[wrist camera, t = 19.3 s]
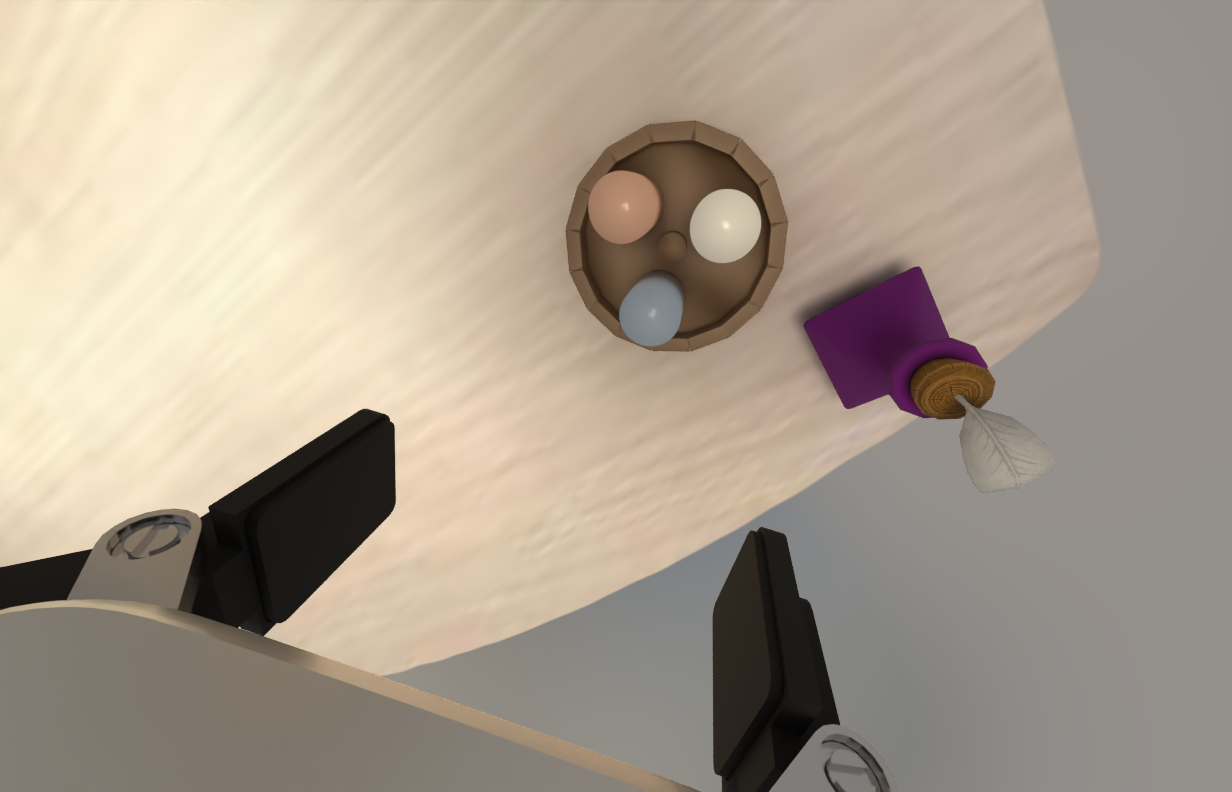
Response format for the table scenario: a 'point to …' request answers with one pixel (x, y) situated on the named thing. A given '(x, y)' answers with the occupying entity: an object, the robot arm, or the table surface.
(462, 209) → the table surface
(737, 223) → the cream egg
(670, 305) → the bead slate
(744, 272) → the groove tray
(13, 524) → the table surface
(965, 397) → the perfume bottle
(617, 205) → the bead terracotta
